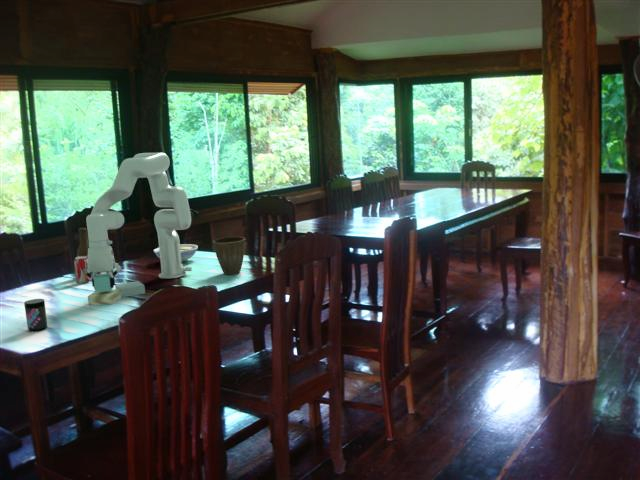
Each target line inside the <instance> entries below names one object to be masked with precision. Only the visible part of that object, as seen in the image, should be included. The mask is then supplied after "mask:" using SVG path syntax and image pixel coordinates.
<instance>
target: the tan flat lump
mask: <svg viewBox="0 0 640 480" xmlns="http://www.w3.org/2000/svg"><path fill="white" fill-rule="evenodd" d="M120 299H122V297H121V290H120V289H116V288H115V289H114V288H113V289H112V290H111V291H104V292H95V291H94V292H92V293H91V294H89V295H87V301H88V305H89V306H94V305H95V306H97V305H99V306H100V305H101V306H102V305H114V304H116V302H118V301H119V300H120Z"/></svg>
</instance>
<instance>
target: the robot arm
mask: <svg viewBox="0 0 640 480" xmlns="http://www.w3.org/2000/svg"><path fill="white" fill-rule="evenodd" d="M170 162H171V161H170V158H169V156H168V155H167V154H166V153H165V152H142V153H137V154H134V156H133V157H129V158H125V159H124V160H122V162H121V163H120V166H119V169H118V171H117V173H116V175H115V178H114V180H113V183H112V185H111V187H110V188H109V189H107V190H106V191H105V192H104V193H103V194H102V195H101V196H100V197H99V198H98V199H97V200H96V202H95V203H94V206H93V208H92V210H91V212H90V214H88V215H87V216H86V219H85V220H86V227H87V228H86V229H87V230H86V231H87V239H88V243H89V247H90V248H89V249H88V265H87V266H86V267H85V268H84V269H83V273H85V274H86V275H87V276H88V277H90V280H91V284H92V287H93V289H94V290H95V287H94V277H95V276H96V275H97V273H107V274H109V275H110V285H111V288H113V289H114V287H115V285H116V281H115V277H116V275H117V274H118V273H119V272H120V271H121V270H122V266H120V265H119V264H118V263H117V262H116V259H115V256H114V251H113V248H112V246H111V245H112V244H113V240H110V239H109V234H108V230H117V229H120V228H121V227H123V225H124V224H125V217H124V215H123V213H121V212H120V211H118V210H110V209H111V208H112V207H113V206H114V205H115V204H117V203H119V202H121V201H123V200H126V199H127V198H129V197H131V195H133V191H134V188H135V185H136V183H137V181H138V179H139V178H141V179H143V178H147V180H148V183H149V186H150V187H149V188H150V191H151V195H152V196H151V198H152V200H153V202H154V205H155V207H158V208H164V209H160V210H158V211H156V212H155V214H154V217H153V221H154V227H155V229H156V232H157V239H158V248H159V250H160V258H159V260H160V269H161V273H159V274H158V278H160V279H163V280H165V279H166V280H167V279H176V278H181V277H182V278H183V277H184V276H186V275H187V272H192V271H193V269H192V266H184V264H183V262H182V263H181V252H180V244H181V243H180V241H181V240H180V236H179V234H178V232H177V231H184V230H187V229H189V228H190V227H191V224H192V215H191V208H190V204H189V199H188V195H187V192H186V191H185V189H184V188H183V187H181V186H177V185H176V186H174V185H173V186H172V185H170V181H169V178H168V175H167V173H166V171H168V169H169V167H170V165H171V163H170ZM115 268H116V269H115ZM88 270H89V272H88ZM90 272H91V273H92V274H91V273H90Z"/></svg>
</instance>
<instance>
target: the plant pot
mask: <svg viewBox="0 0 640 480" xmlns="http://www.w3.org/2000/svg"><path fill="white" fill-rule="evenodd" d="M212 243H213V249H214V252H215V255H216V259H217V261H218V264H219V267H220V268H221V270H222V273H223V274H224V275H225V276H233V275H234V276H235V275H238V274H241V270H242V267H243V262H244V257H245V247H246V238H245V237H242V236H228V237H222V238H217V239H214V240H212Z"/></svg>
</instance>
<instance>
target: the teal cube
mask: <svg viewBox="0 0 640 480" xmlns="http://www.w3.org/2000/svg"><path fill="white" fill-rule="evenodd" d="M94 287H95V289H94V292H104V291H111V290H112V289H114V287H113V288H111V285H110V275H109V273H101V274H100V273H98V274H97V273H96V276H95V277H94ZM94 287H93V288H94Z"/></svg>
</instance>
